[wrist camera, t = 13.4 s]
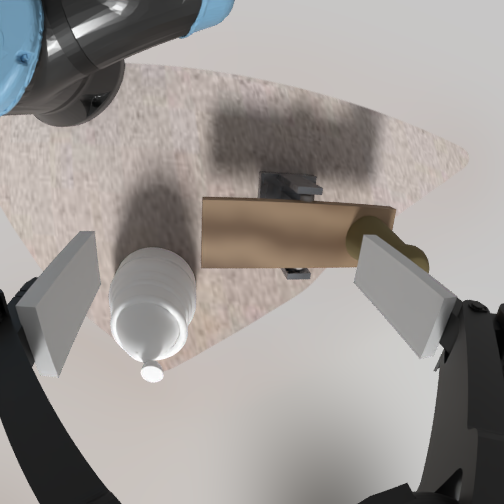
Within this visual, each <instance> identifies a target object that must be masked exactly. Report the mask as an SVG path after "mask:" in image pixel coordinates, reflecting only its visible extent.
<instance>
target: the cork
mask: <svg viewBox="0 0 504 504" xmlns="http://www.w3.org/2000/svg"><path fill="white" fill-rule="evenodd" d="M363 235H377V236H378V237H379V238H381V239H382V240H384V241H385V242H386V243H388V244H389V245H391V246H392V247H393V248H395V249H396V250H398V251H399V252H400V253H402V254H403V255H404V256H406V257H407V258H408V259H410V260H411V261H412V262H414V263H415V264H416V265H418V266H419V267H420V268H422V269H423V270H424V271H426V272H427V273H429V263H428V259H427V257H426V255H425V254H424V252H423V251H422V250H420V249H419V248H418V247H416V246H412V245H407V244H405V243H404V242H403V241H402V240H401V239H400V238H399V237H398V236H397V235H396V234H395V233H394V232H393V231H392V230H391V229H390V228H389V227H388V226H387V225H386V224H385V223H383V222H382V221H381V220H380V219H379V218H377V217H375V216H364V217H362V218H360V219H358V220H356V221H355V222H354V223H353V224H352V225H351V227H350V228H349V230H348V232H347V235H346V243H345V246H346V249H347V252H348V253H349V254H350V256H351V257H353V258H354V259H356V260H359V256H360V251H361V245H362V240H363Z"/></svg>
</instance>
